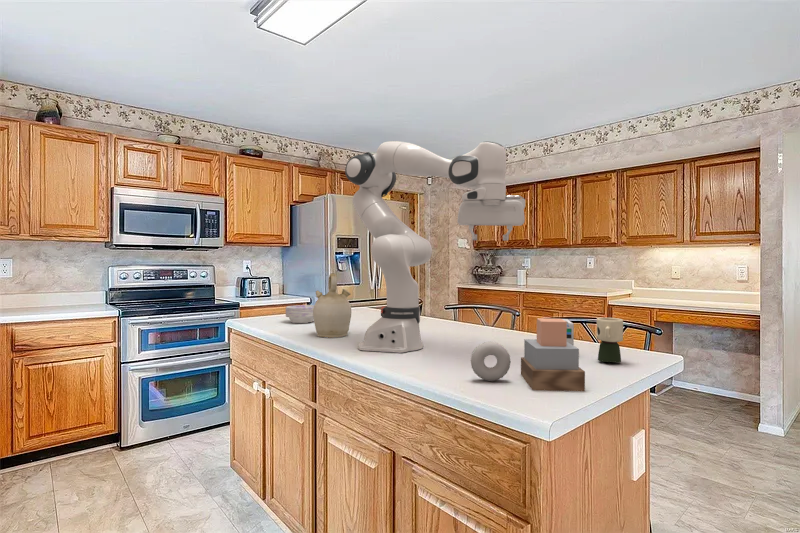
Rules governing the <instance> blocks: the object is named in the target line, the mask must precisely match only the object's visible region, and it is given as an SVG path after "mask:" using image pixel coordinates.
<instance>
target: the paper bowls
mask: <svg viewBox="0 0 800 533" xmlns="http://www.w3.org/2000/svg"><path fill="white" fill-rule="evenodd" d="M314 305H315V304H302V305H301V304H299V305H298V304H297V305H287V306H286V307H285V317H286V318H288V319H289V321H290V322H291V323H292V324H309V323H308V322H311V323H312V322H314V317H313V308H314Z"/></svg>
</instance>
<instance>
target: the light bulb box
mask: <svg viewBox="0 0 800 533" xmlns="http://www.w3.org/2000/svg"><path fill="white" fill-rule="evenodd" d="M561 319H562V320H564V321H566V322H567V342H568V343H570V344H571V345H573V346H575V344H574V338H575V336H574V331H575V326H574V323H573V322H572V321H570V320H569V319H568V318H561Z"/></svg>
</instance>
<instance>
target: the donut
mask: <svg viewBox="0 0 800 533" xmlns="http://www.w3.org/2000/svg"><path fill="white" fill-rule="evenodd" d="M487 356H488V357H489V356H493V357H495V358H496V363H495V365H494V366H491V367H489V366H487V365H486V364H485V359H486V358H487ZM470 357H471V358H470V366H471V369H472V371H473V373H474V374H475V375H476V376H477V377H478V378H479V379H481V380H483V381H488V382H492V381H498V380H501V379H502V378H503V377H505V375H507V374H508V372H509V370H510V368H511V356H510V353H509V352H508V350H507V348H505V347H504V346H503V345H502V344H501V343H498V342H496V341H486V342H485V341H484V342H482V343H481V344H478V345H477V346H476V347H475V349H474V350H473V352H472V353H471V356H470Z"/></svg>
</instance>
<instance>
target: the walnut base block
mask: <svg viewBox="0 0 800 533" xmlns="http://www.w3.org/2000/svg"><path fill="white" fill-rule="evenodd" d="M520 376H521V377H522V379H523V380H524V381H525V382H526V383H527V385H528V386H529V388H530V389H531V391H545V392H546V391H549V392H550V391H552V392H556V391H557V392H585V391H586V371H585V370H583V368H581V367H579V370H548V369H535V368H534V367H533V366H532V365H531V364H530V363H529V362H528V361H527V360H526V359H525V358H524V357H520Z"/></svg>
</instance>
